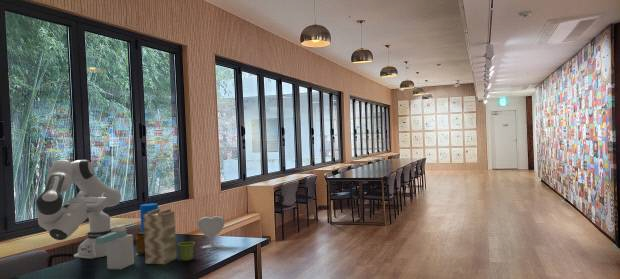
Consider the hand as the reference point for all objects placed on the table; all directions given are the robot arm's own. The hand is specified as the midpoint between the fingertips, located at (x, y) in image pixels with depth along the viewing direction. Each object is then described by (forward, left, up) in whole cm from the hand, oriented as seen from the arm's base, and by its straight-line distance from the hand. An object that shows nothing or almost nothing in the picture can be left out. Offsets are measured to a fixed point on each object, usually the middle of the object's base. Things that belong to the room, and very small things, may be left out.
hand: (96, 194), depth 224 cm
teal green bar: (-1, +11, -25) cm, 27 cm away
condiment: (-4, +43, -41) cm, 59 cm away
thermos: (-15, +67, -41) cm, 80 cm away
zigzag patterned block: (+17, +27, -40) cm, 52 cm away
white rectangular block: (0, +16, -40) cm, 44 cm away
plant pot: (+30, +32, -41) cm, 60 cm away
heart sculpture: (+31, +61, -41) cm, 79 cm away
